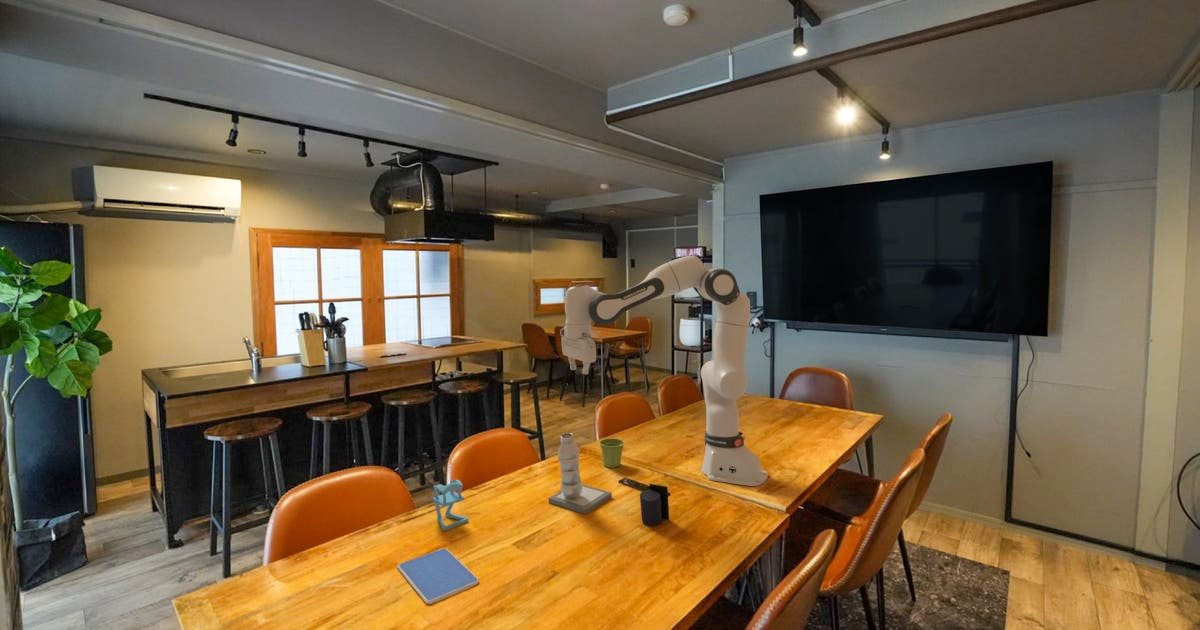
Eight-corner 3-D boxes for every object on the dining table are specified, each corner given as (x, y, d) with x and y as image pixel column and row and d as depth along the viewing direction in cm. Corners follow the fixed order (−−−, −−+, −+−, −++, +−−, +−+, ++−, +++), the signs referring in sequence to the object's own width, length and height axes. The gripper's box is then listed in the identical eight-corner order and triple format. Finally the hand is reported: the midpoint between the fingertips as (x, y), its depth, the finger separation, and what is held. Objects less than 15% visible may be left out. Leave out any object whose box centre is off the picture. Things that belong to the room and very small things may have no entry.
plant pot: (625, 460, 193) (625, 438, 193) (624, 470, 184) (624, 446, 183) (600, 460, 194) (600, 437, 193) (598, 469, 185) (597, 446, 184)
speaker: (654, 512, 151) (653, 479, 149) (669, 519, 147) (668, 486, 145) (636, 523, 146) (635, 489, 144) (652, 531, 142) (651, 497, 140)
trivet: (611, 497, 162) (611, 492, 161) (585, 514, 150) (585, 509, 150) (576, 487, 170) (576, 482, 169) (548, 502, 158) (548, 497, 158)
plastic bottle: (561, 491, 161) (555, 432, 157) (582, 488, 162) (577, 429, 158) (561, 502, 155) (555, 441, 151) (584, 499, 156) (578, 439, 151)
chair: (454, 512, 152) (452, 473, 152) (468, 521, 147) (467, 480, 146) (429, 521, 147) (427, 480, 146) (443, 531, 141) (442, 488, 140)
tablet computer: (396, 569, 124) (395, 563, 124) (445, 550, 132) (445, 545, 132) (427, 608, 109) (426, 602, 109) (481, 585, 117) (480, 579, 117)
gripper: (600, 334, 168) (601, 375, 169) (574, 328, 186) (575, 366, 187) (583, 335, 165) (584, 377, 166) (558, 330, 183) (559, 368, 184)
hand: (579, 371), depth 177 cm, fingers open, 8 cm apart
